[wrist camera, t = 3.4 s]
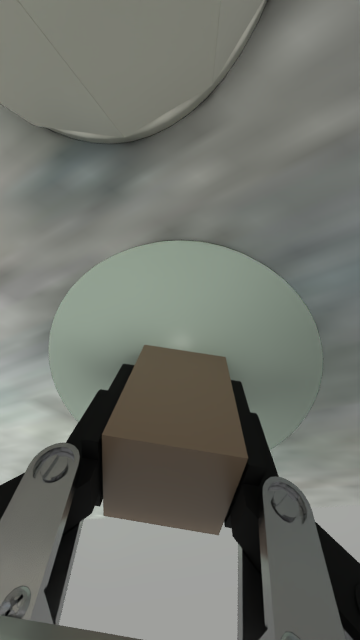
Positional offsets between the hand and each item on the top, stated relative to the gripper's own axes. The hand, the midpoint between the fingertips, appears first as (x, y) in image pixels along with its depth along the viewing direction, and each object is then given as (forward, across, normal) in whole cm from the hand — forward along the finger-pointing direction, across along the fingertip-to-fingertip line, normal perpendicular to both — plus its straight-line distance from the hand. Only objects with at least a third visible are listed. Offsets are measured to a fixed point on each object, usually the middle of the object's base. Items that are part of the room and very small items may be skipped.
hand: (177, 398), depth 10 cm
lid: (+2, 0, 0) cm, 2 cm away
